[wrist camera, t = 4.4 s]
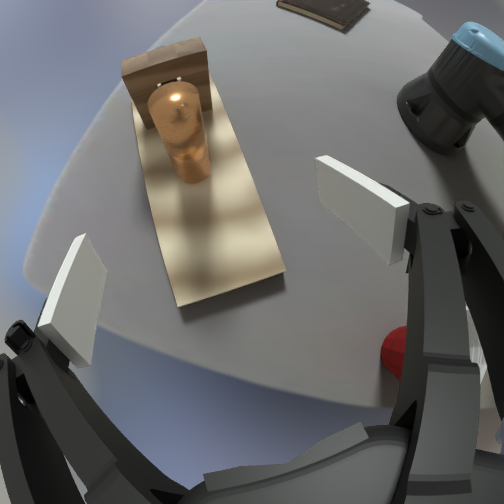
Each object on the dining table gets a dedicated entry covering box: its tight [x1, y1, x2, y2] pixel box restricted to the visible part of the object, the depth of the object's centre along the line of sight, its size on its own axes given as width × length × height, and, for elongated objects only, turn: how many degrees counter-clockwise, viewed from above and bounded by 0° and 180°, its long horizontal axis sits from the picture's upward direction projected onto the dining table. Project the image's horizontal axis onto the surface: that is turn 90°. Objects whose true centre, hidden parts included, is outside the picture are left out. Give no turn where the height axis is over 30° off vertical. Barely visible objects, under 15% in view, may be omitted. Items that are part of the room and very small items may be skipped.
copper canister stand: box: [121, 37, 286, 307], centre depth 27 cm, size 32×12×12 cm, turn 19°
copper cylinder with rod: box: [148, 46, 211, 184], centre depth 25 cm, size 19×4×12 cm, turn 19°
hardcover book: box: [276, 0, 370, 30], centre depth 42 cm, size 16×23×2 cm
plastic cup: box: [381, 306, 487, 384], centre depth 24 cm, size 11×11×12 cm
